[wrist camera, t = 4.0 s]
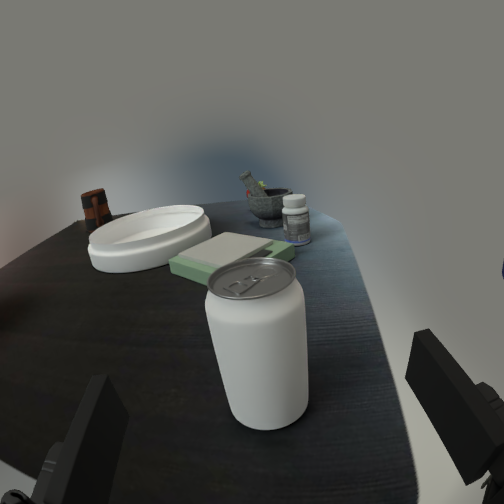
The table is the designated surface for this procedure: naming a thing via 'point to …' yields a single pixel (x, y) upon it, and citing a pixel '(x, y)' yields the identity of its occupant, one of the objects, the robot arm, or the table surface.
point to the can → (260, 340)
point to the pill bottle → (296, 219)
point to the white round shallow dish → (147, 238)
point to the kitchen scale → (226, 254)
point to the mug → (96, 209)
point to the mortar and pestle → (265, 201)
